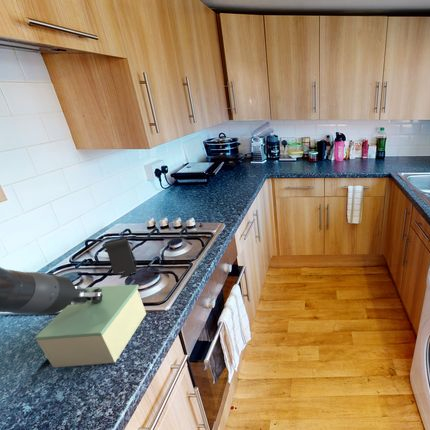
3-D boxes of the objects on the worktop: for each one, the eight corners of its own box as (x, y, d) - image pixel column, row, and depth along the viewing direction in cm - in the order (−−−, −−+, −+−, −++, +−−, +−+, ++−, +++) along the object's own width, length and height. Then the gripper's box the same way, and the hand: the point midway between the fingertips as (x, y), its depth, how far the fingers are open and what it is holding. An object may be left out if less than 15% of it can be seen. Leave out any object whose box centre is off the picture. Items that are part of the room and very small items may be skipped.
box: (96, 317, 80) (84, 292, 76) (146, 313, 81) (137, 289, 77) (53, 367, 66) (36, 340, 62) (115, 362, 67) (102, 335, 63)
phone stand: (136, 274, 97) (125, 243, 92) (115, 279, 95) (103, 249, 90) (136, 261, 104) (126, 232, 99) (116, 266, 102) (105, 236, 97)
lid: (86, 290, 77) (85, 287, 76) (139, 286, 78) (138, 284, 77) (36, 340, 62) (34, 337, 62) (102, 335, 63) (100, 332, 63)
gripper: (77, 271, 57) (128, 281, 73) (6, 275, 56) (74, 285, 72) (68, 311, 55) (123, 312, 71) (-6, 316, 54) (67, 316, 70)
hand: (98, 298), depth 72 cm, fingers closed
